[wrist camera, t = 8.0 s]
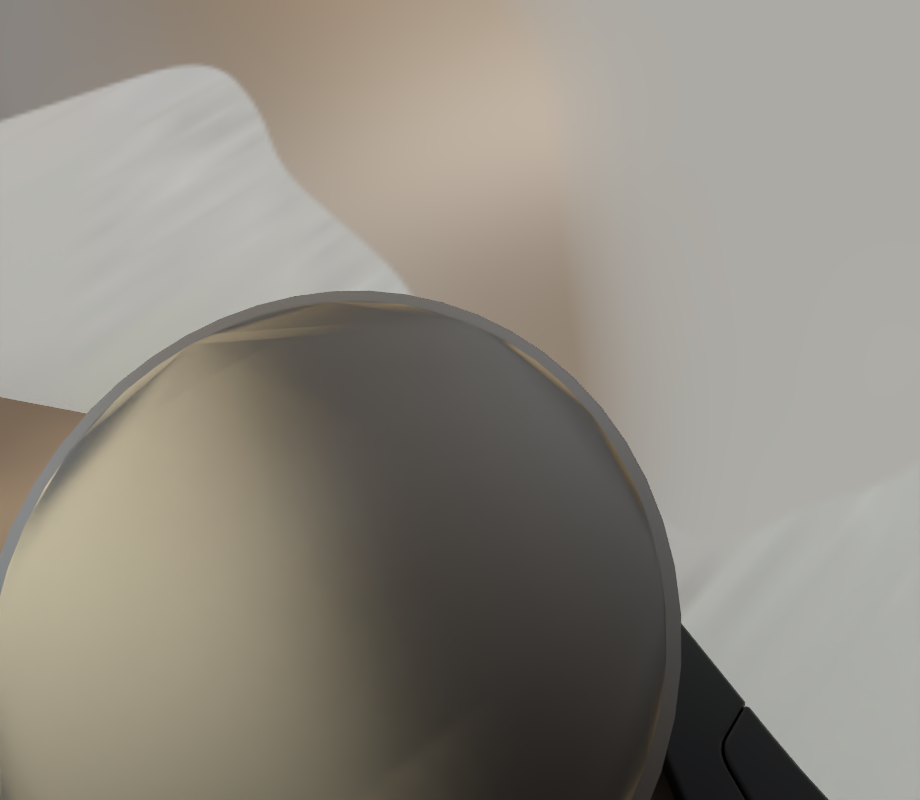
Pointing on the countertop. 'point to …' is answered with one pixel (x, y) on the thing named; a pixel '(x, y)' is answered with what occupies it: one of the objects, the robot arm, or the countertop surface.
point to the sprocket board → (27, 451)
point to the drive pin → (340, 574)
